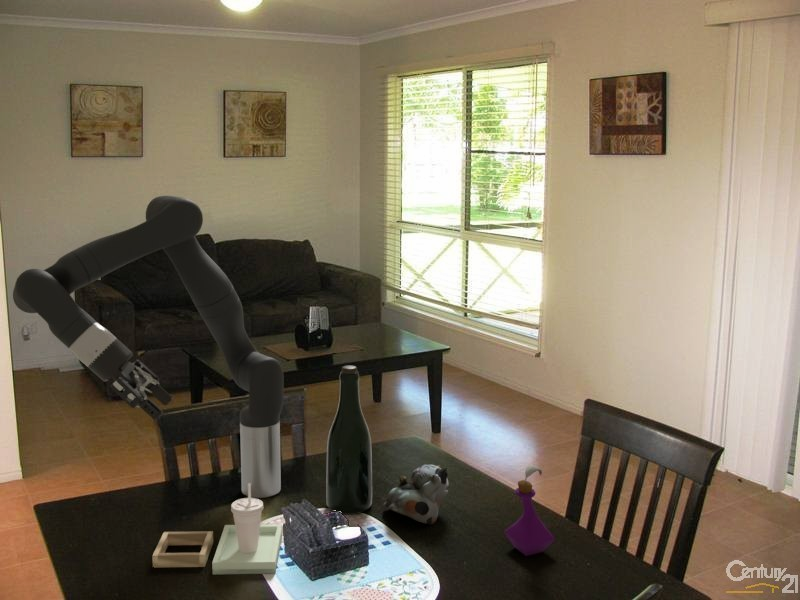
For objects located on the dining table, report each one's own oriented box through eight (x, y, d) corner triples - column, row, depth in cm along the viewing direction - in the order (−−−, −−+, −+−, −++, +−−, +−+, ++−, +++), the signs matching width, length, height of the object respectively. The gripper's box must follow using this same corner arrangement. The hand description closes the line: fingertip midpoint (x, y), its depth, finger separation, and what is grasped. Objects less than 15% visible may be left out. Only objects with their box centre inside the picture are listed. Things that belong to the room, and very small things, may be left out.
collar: (164, 543, 172) (163, 531, 171) (213, 542, 172) (213, 531, 172) (152, 567, 162) (152, 555, 161) (204, 566, 162) (204, 554, 162)
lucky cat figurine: (381, 503, 192) (405, 447, 193) (428, 524, 192) (452, 468, 194) (383, 512, 177) (410, 452, 179) (435, 535, 177) (461, 475, 179)
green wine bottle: (318, 510, 187) (317, 369, 181) (338, 493, 197) (338, 358, 191) (360, 519, 184) (361, 375, 177) (379, 500, 193) (380, 363, 187)
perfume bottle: (524, 561, 166) (528, 477, 162) (503, 545, 172) (506, 463, 169) (554, 553, 169) (558, 470, 166) (532, 538, 176) (536, 457, 172)
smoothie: (257, 558, 164) (255, 491, 161) (226, 554, 165) (224, 488, 162) (268, 543, 170) (267, 478, 167) (239, 540, 171) (237, 476, 169)
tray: (225, 535, 175) (225, 525, 175) (282, 534, 176) (282, 524, 175) (212, 574, 159) (212, 562, 159) (275, 573, 160) (275, 562, 160)
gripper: (103, 347, 151) (169, 407, 154) (124, 329, 165) (185, 385, 168) (75, 375, 152) (142, 434, 154) (99, 355, 166) (159, 410, 168)
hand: (164, 408), depth 161 cm, fingers open, 8 cm apart
